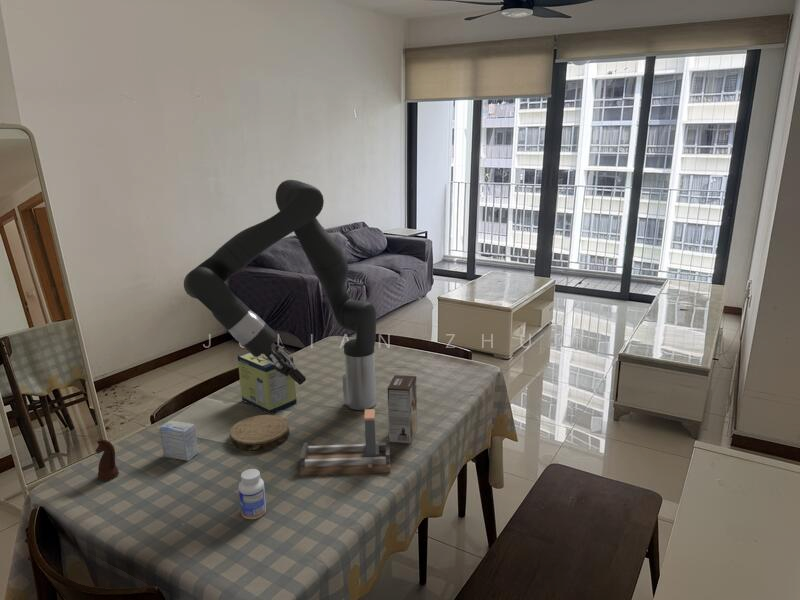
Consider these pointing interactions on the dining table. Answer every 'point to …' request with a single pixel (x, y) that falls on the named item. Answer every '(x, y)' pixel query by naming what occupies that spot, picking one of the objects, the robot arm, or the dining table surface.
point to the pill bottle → (252, 494)
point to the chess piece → (106, 461)
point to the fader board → (343, 459)
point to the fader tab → (370, 435)
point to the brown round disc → (259, 433)
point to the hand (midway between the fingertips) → (303, 381)
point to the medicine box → (179, 440)
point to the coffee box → (402, 408)
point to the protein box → (265, 384)
